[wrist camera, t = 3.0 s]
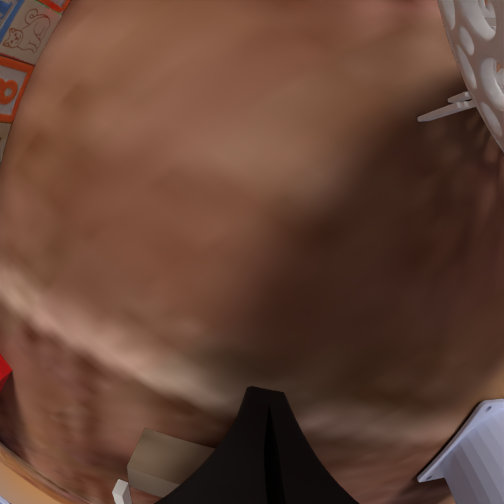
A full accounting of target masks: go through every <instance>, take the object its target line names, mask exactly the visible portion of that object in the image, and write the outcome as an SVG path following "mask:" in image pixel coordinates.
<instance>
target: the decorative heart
mask: <svg viewBox="0 0 504 504" xmlns="http://www.w3.org/2000/svg"><path fill="white" fill-rule="evenodd" d="M437 1H438V5H439V9H440V13H441V17H442V20H443V24H444V28H445V31H446V35H447V38H448V41H449V44H450V47H451V50H452V53H453V55H454V58H455V60H456V63H457V66H458V68H459V70H460V73H461V75H462V78H463V80H464V82H465V84H466V87H467V89H468V91H469V92H463V93H460V94H458V95H455V96H453V97H450V98H448V103H453V104H451V105H448V106H445V107H442V108H440V109H437V110H434V111H432V112H429V113H426V114H424V115H421V116H419V117H417V119H418V122H422V121H431V120H434V119H437V118H440V117H444V116H447V115H450V114H453V113H457V112H460V111H463V110H467V109H470V108H473V107H476V108H477V110H478V112H479V113H480V115H481V117H482V119H483V121H484V122H485V124H486V126H487V128H488V130H489V131H490V133H491V135H492V136H493V138H494V139H495V141H496V142H497V144H498V145H499V147H500V148H501V150H502V151H503V153H504V0H487V6H485V2H484V0H437ZM485 17H487V18H485ZM497 63H499V64H500V65H501V67H502V68H501V69H500V70H499V72H498V73H497V72H496V65H497ZM471 98H472V100H471V101H468V102H466V101H465V100H468V99H471ZM462 101H464V102H462ZM459 102H461V103H459Z"/></svg>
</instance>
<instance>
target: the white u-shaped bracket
mask: <svg viewBox="0 0 504 504" xmlns="http://www.w3.org/2000/svg"><path fill="white" fill-rule="evenodd" d="M112 493H113V496H114V499H115V502H116V504H132V501H131V496H130V490H129V485H128V482H125V481H123V480H120V479H118V481H117V483H116V485H115V487H114V490H113V492H112Z"/></svg>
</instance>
